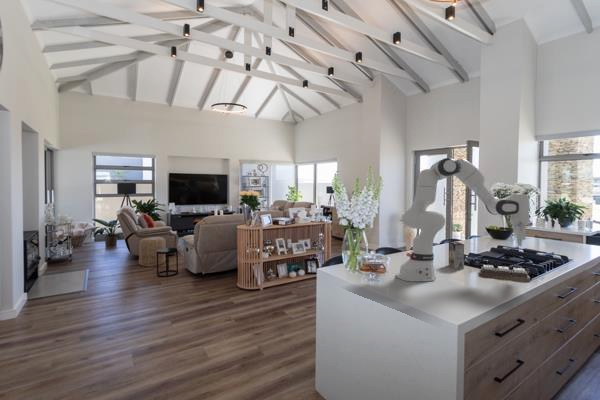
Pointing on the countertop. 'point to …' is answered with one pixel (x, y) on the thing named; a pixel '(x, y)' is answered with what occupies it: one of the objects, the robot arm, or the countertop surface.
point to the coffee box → (456, 255)
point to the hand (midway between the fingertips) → (519, 245)
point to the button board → (504, 274)
